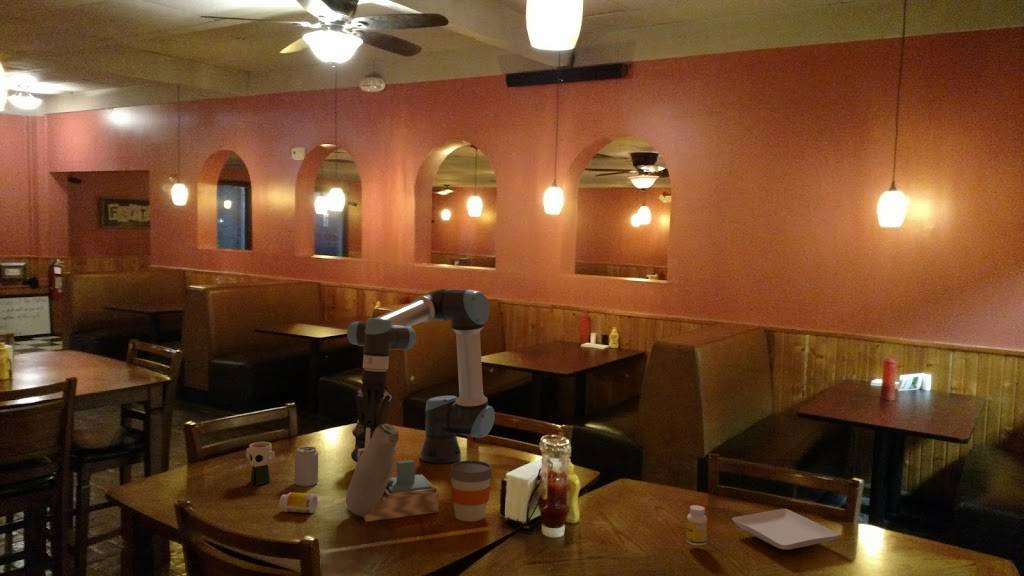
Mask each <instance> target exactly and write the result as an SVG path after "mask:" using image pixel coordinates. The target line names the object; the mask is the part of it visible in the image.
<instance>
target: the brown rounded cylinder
mask: <svg viewBox="0 0 1024 576" xmlns="http://www.w3.org/2000/svg"><path fill="white" fill-rule="evenodd" d="M398 441H399V432H398V429H396V428H395V427H394V426H392V425H390V424H389V423H384V424H381V425H379V426H378V427H377V428H376V429H375V430H374V432H373V436H372V438H371V441H370V443H369V444H368V446H367V447H366V448H365V450H364V451H363V453H362V454H361V456H360V458H359V460H358V462H356V465H355V468H354V469H355V470H353V474H352V477H351V479H350V483H349V485H348V488H347V491H346V495H345V504H346V508H347V509H348V510H349V511H350V512H351V513H352V514H354V515H356V516H358V517H362V516H366V515H367V514H369V513H371V512H372V511H373V509H374V507H375V506H376V504H377V502H378V500H379V499H381V498H382V496H383V494H384V491H385V489H386V486H387V483H388V481H389V478H391V475H392V472H393V469H394V465H395V453H396V446H397V443H398Z"/></svg>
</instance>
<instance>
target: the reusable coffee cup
mask: <svg viewBox="0 0 1024 576" xmlns="http://www.w3.org/2000/svg"><path fill="white" fill-rule="evenodd" d="M492 477H493V472H492V466H491V464H490V463H488V462H485V461H480V460H471V459H470V460H458V461H456V462H453V463H451V466H450V471H449V478H450V481H451V483H450V485H449V486H450V494H451V501H452V502H453V509H454V510H453V511H454V518H456V519H458V520H459V521H462V522H478V521H481V520H483V519H485V517H486V511H487V505H488V502H489V500H490V494H491V493H490V492H491V487H492V486H491V485H492V484H491V479H492Z"/></svg>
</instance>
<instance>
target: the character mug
mask: <svg viewBox="0 0 1024 576" xmlns="http://www.w3.org/2000/svg"><path fill="white" fill-rule="evenodd" d="M248 446H249V447H247V448H246V450H245V457H246V459H248V463H249V465H251V466H252V468H251V474H250V480H249V481H250V484H252V485H254V482H255V485H257V486H258V485H259V486H260V485H265V484H267V483H268V482H270V481H271V474H270V468H269V464H271V463H272V462H275V459H276V458H275V457H276V455H275V453H276V452H275V451H273V450H272V446H273V445H272V443H271V442H268V441H258V442H253V443H250V444H249V445H248Z"/></svg>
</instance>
